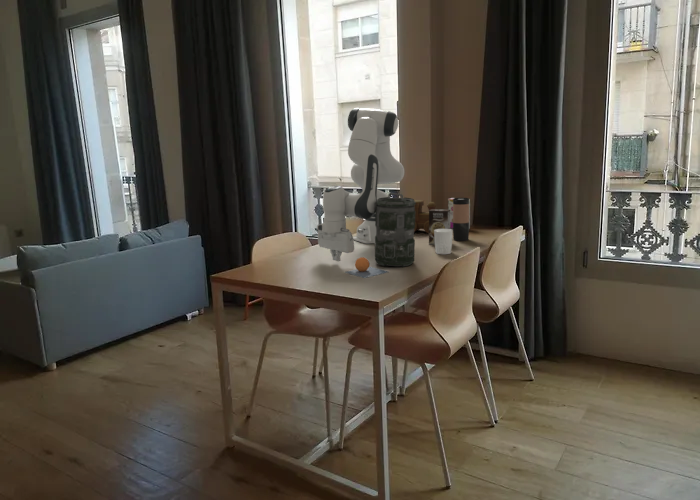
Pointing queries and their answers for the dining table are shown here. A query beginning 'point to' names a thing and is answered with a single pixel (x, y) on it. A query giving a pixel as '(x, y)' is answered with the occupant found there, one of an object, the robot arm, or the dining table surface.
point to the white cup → (443, 241)
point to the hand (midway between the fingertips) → (336, 260)
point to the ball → (362, 264)
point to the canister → (395, 231)
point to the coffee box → (438, 222)
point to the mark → (367, 272)
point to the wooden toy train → (422, 215)
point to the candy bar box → (450, 207)
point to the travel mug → (460, 219)
